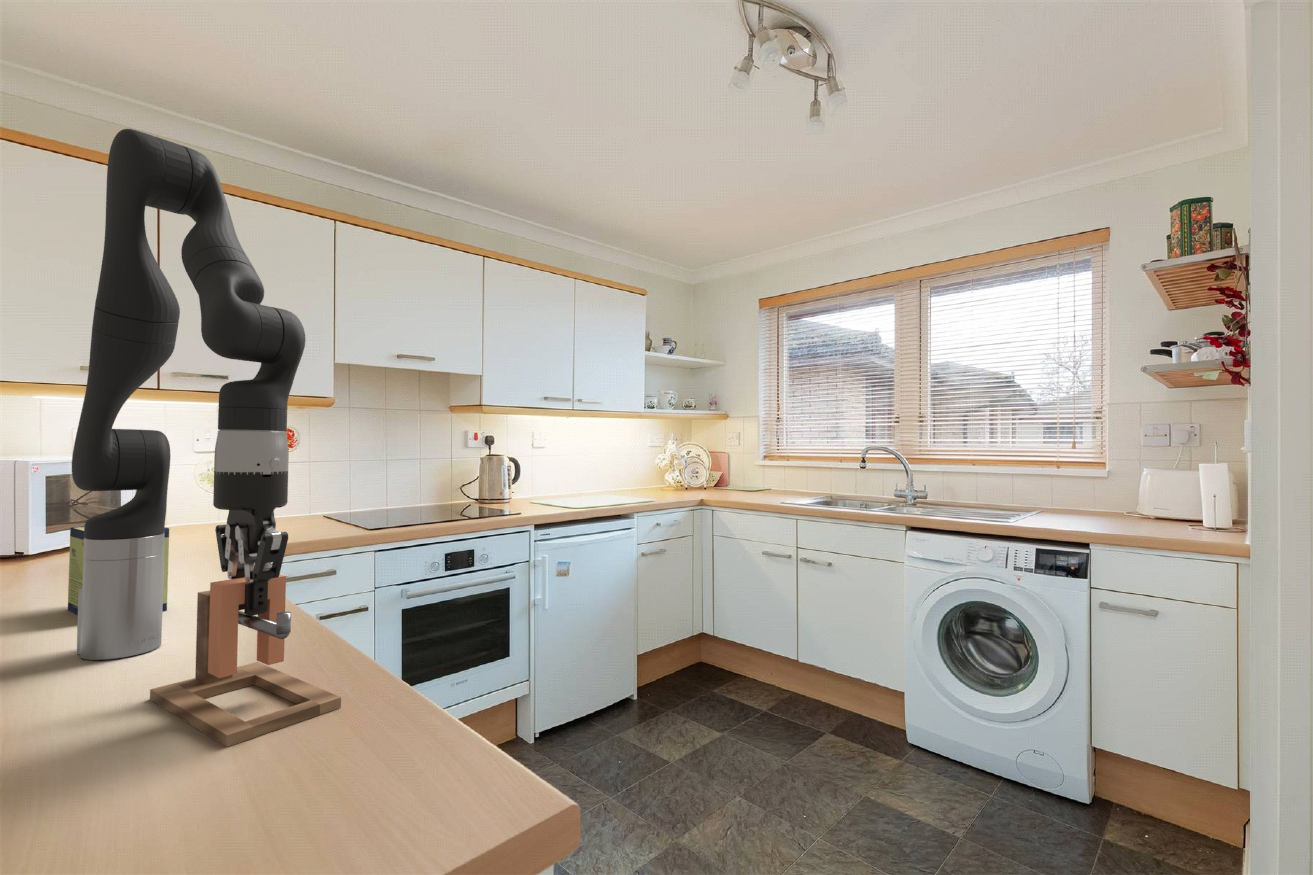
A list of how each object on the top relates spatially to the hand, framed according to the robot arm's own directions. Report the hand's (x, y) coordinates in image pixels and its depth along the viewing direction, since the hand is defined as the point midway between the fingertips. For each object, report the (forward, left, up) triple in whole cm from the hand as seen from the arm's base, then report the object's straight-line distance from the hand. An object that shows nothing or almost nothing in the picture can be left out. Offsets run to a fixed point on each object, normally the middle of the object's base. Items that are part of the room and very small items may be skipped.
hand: (248, 610), depth 74 cm
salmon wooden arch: (0, 0, -7) cm, 7 cm away
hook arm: (+1, 0, -2) cm, 2 cm away
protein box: (-59, +28, -11) cm, 67 cm away
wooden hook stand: (0, 0, -11) cm, 11 cm away
